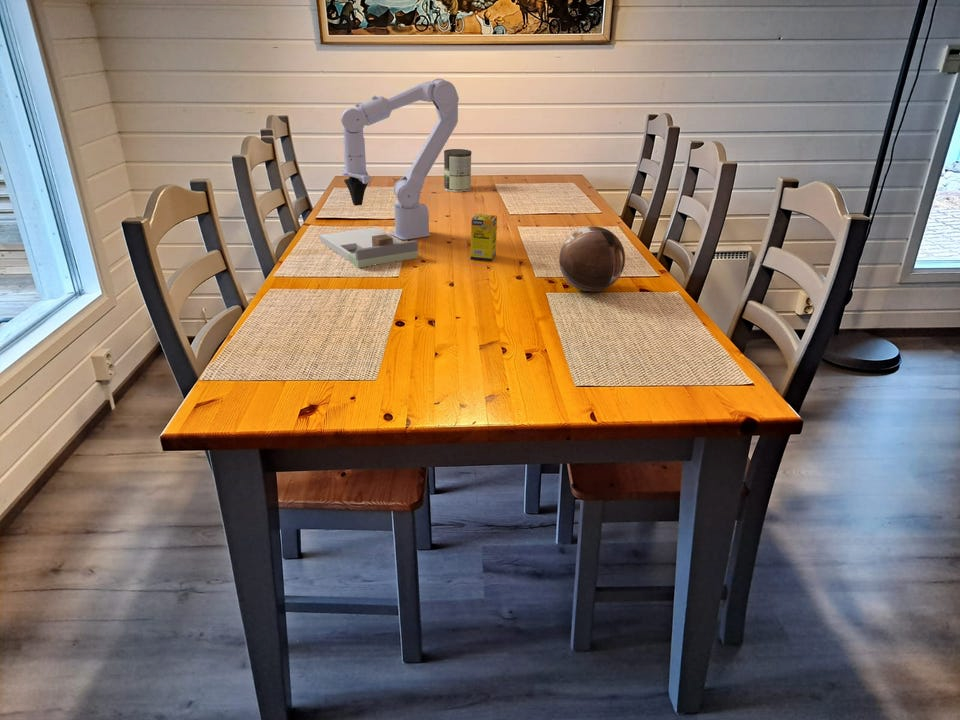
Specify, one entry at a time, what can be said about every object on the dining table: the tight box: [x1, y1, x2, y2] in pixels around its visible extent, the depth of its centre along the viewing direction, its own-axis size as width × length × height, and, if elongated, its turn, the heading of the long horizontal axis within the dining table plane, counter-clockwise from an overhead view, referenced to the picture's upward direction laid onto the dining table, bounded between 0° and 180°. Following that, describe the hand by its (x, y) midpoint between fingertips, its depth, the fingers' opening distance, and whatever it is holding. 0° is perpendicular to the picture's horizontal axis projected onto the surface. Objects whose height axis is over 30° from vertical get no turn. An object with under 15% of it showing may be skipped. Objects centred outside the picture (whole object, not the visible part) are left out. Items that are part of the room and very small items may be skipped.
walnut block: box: [372, 233, 393, 247], centre depth 170 cm, size 4×4×4 cm
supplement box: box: [470, 213, 498, 262], centre depth 173 cm, size 6×6×11 cm
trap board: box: [319, 227, 419, 269], centre depth 178 cm, size 17×26×4 cm, turn 33°
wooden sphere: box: [558, 226, 626, 292], centre depth 152 cm, size 15×15×15 cm
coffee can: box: [443, 148, 472, 193], centre depth 247 cm, size 10×10×14 cm
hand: (357, 204), depth 185 cm, fingers closed
